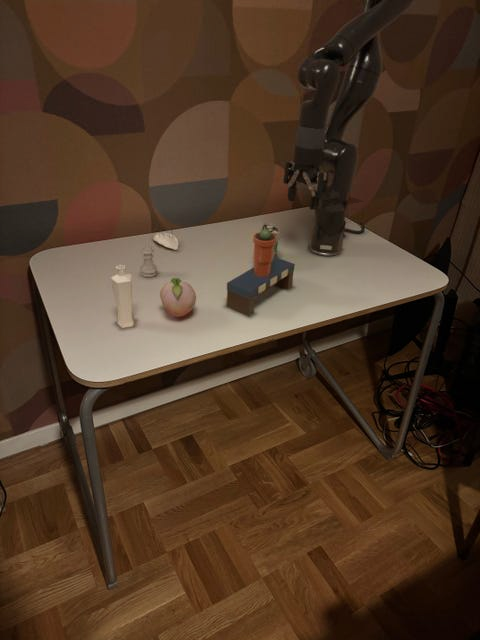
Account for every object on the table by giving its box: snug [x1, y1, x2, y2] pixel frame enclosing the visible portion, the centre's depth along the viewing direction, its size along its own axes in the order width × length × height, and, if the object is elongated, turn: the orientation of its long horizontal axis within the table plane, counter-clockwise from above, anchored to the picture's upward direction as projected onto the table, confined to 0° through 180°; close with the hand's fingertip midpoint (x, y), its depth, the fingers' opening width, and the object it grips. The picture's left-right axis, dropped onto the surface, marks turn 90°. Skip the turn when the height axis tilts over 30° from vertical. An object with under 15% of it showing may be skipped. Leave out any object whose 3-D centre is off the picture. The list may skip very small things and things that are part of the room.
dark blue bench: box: [226, 256, 296, 317], centre depth 130 cm, size 20×7×7 cm, turn 142°
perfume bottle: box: [110, 264, 135, 329], centre depth 115 cm, size 5×4×15 cm
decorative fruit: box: [159, 277, 197, 317], centre depth 120 cm, size 9×8×10 cm
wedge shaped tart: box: [261, 221, 282, 257], centre depth 147 cm, size 12×6×10 cm, turn 168°
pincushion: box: [152, 225, 180, 251], centre depth 155 cm, size 12×6×6 cm, turn 38°
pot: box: [252, 228, 277, 277], centre depth 125 cm, size 6×6×12 cm
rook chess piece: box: [140, 245, 158, 278], centre depth 138 cm, size 4×4×8 cm
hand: (302, 204), depth 139 cm, fingers open, 8 cm apart
